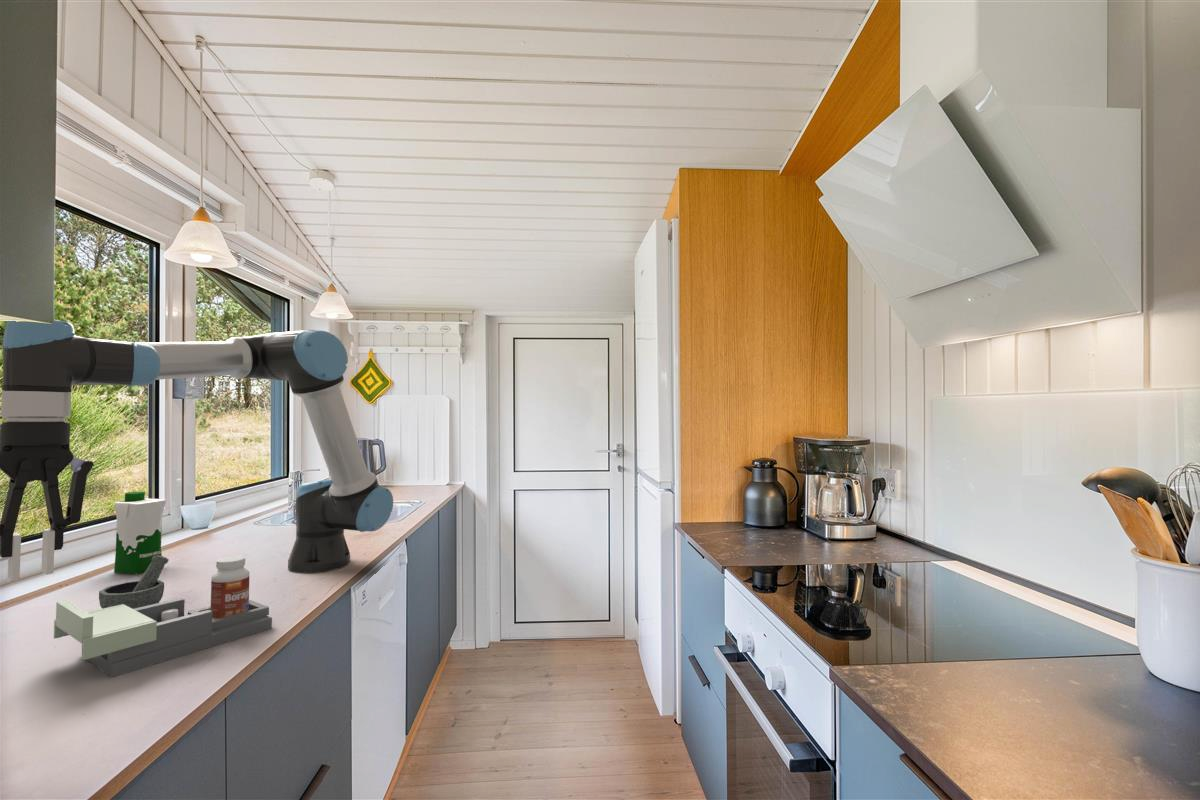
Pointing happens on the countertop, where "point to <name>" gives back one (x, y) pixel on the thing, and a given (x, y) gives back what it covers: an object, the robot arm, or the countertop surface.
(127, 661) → the housing base
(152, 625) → the cover
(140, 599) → the mortar and pestle
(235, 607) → the pill bottle
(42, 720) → the countertop surface
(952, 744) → the countertop surface
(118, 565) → the milk carton
